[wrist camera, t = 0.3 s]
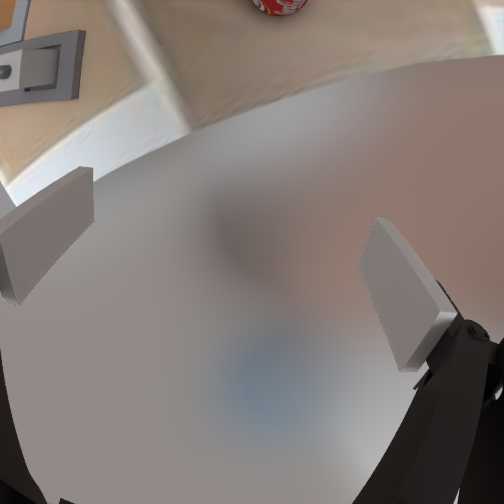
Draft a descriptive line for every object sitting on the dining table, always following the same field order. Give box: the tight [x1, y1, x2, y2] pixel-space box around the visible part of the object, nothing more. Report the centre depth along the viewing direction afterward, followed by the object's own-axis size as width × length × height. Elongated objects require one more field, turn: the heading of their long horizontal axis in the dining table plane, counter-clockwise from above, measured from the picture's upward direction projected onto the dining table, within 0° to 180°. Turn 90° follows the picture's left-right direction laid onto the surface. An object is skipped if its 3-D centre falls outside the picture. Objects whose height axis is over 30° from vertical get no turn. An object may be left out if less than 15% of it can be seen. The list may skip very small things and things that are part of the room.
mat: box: [0, 0, 31, 47], centre depth 25 cm, size 11×11×1 cm
